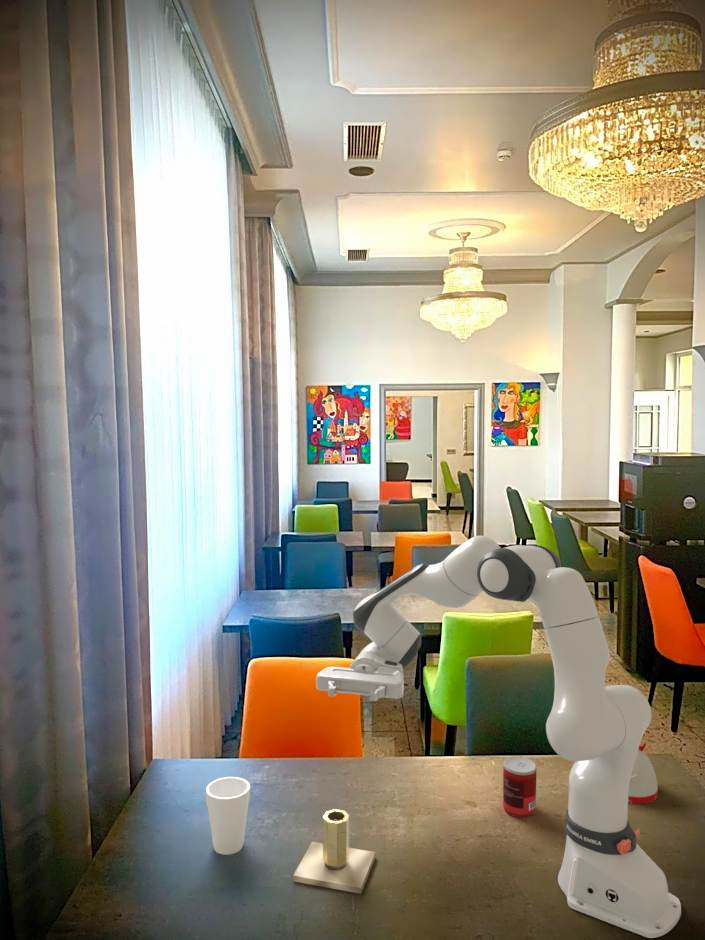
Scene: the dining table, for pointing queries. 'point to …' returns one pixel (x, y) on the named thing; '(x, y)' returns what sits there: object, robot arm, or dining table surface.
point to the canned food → (519, 787)
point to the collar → (335, 837)
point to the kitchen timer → (642, 779)
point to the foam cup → (228, 813)
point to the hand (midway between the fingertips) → (351, 695)
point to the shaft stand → (335, 869)
